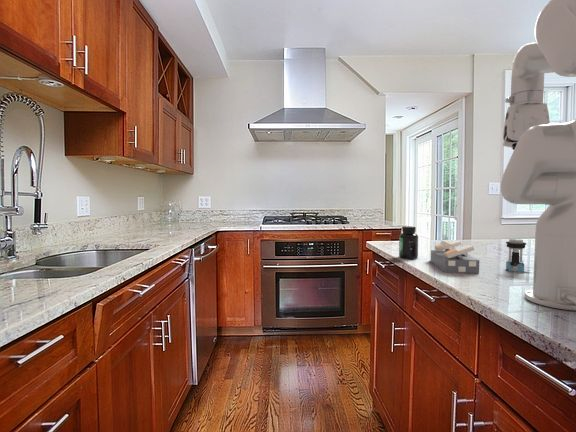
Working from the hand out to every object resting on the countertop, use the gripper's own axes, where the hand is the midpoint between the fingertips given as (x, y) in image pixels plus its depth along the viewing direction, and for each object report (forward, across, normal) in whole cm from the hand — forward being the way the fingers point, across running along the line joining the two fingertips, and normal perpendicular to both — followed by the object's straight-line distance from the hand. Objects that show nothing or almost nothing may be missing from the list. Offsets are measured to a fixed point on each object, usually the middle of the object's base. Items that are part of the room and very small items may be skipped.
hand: (523, 166), depth 95 cm
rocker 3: (+26, -14, +8) cm, 31 cm away
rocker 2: (+26, -14, +14) cm, 33 cm away
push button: (+32, +4, +10) cm, 34 cm away
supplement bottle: (+32, -26, +28) cm, 50 cm away
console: (+32, -14, +14) cm, 38 cm away
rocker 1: (+26, -14, +20) cm, 36 cm away
